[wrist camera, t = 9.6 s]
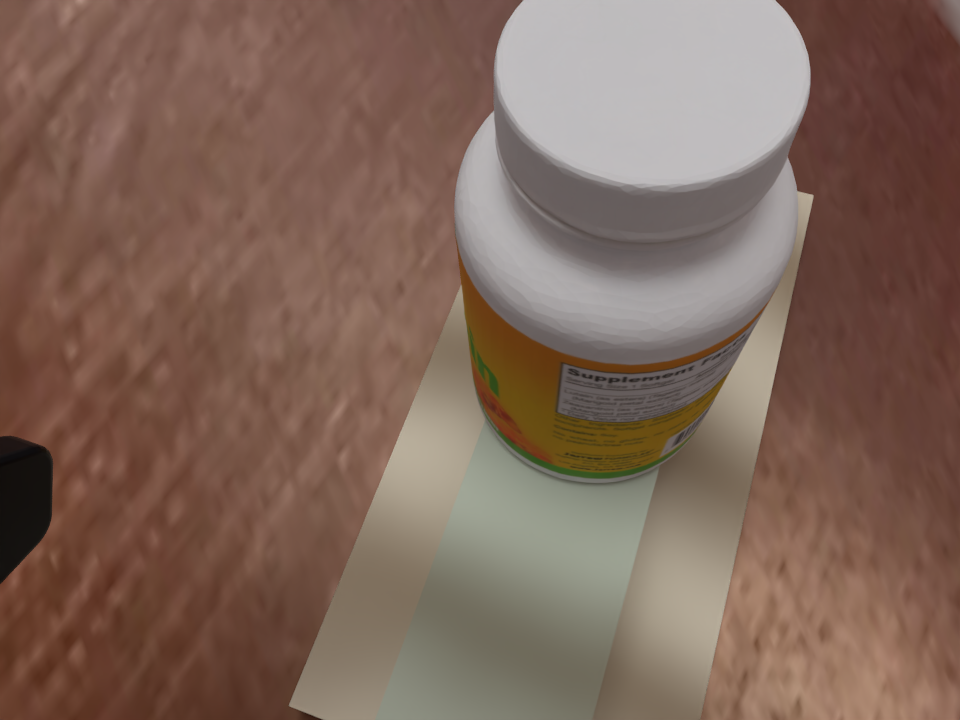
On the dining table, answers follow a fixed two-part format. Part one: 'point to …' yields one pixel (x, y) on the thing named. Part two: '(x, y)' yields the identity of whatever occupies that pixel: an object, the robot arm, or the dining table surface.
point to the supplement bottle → (625, 221)
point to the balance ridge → (541, 563)
